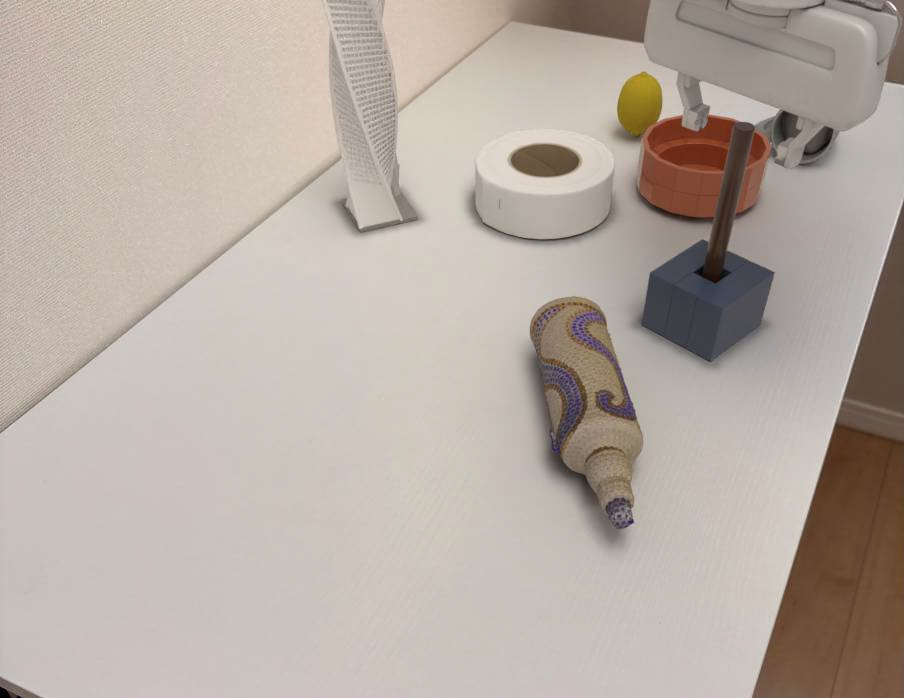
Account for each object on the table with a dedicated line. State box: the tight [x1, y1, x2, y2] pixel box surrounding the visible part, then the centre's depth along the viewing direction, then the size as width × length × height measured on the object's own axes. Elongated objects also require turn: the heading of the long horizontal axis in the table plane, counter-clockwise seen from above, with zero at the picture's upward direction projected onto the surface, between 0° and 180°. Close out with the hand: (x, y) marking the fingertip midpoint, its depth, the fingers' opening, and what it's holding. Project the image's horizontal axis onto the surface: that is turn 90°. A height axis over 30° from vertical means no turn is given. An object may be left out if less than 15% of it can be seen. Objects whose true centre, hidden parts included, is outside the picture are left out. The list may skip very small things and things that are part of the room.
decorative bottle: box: [529, 295, 644, 530], centre depth 80 cm, size 26×8×7 cm, turn 4°
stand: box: [641, 238, 776, 363], centre depth 91 cm, size 8×8×6 cm
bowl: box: [635, 114, 773, 219], centre depth 109 cm, size 14×14×6 cm
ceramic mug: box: [753, 109, 841, 165], centre depth 115 cm, size 11×8×8 cm
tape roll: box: [474, 128, 616, 240], centre depth 107 cm, size 16×16×6 cm
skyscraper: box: [321, 0, 419, 233], centre depth 98 cm, size 8×8×28 cm
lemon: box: [616, 70, 664, 138], centre depth 117 cm, size 6×6×8 cm
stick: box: [702, 121, 755, 284], centre depth 86 cm, size 2×2×20 cm
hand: (738, 145), depth 80 cm, fingers open, 8 cm apart
